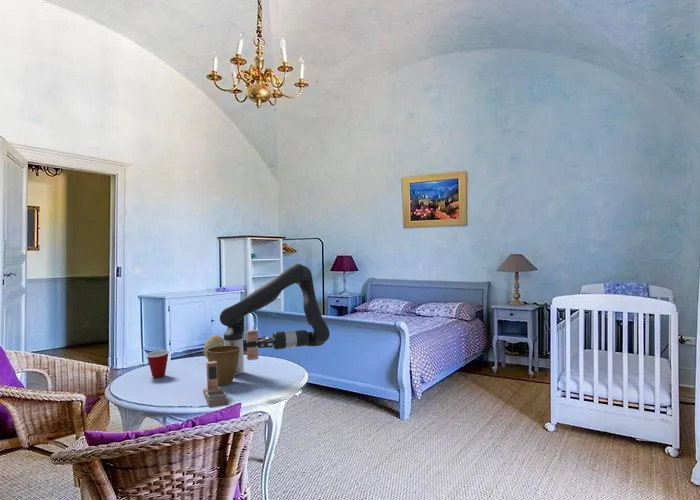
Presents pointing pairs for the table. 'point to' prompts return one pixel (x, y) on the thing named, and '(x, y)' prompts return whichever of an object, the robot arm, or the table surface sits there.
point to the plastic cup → (158, 362)
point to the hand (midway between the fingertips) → (245, 344)
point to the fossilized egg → (213, 343)
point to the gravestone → (213, 387)
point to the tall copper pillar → (252, 351)
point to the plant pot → (224, 362)
